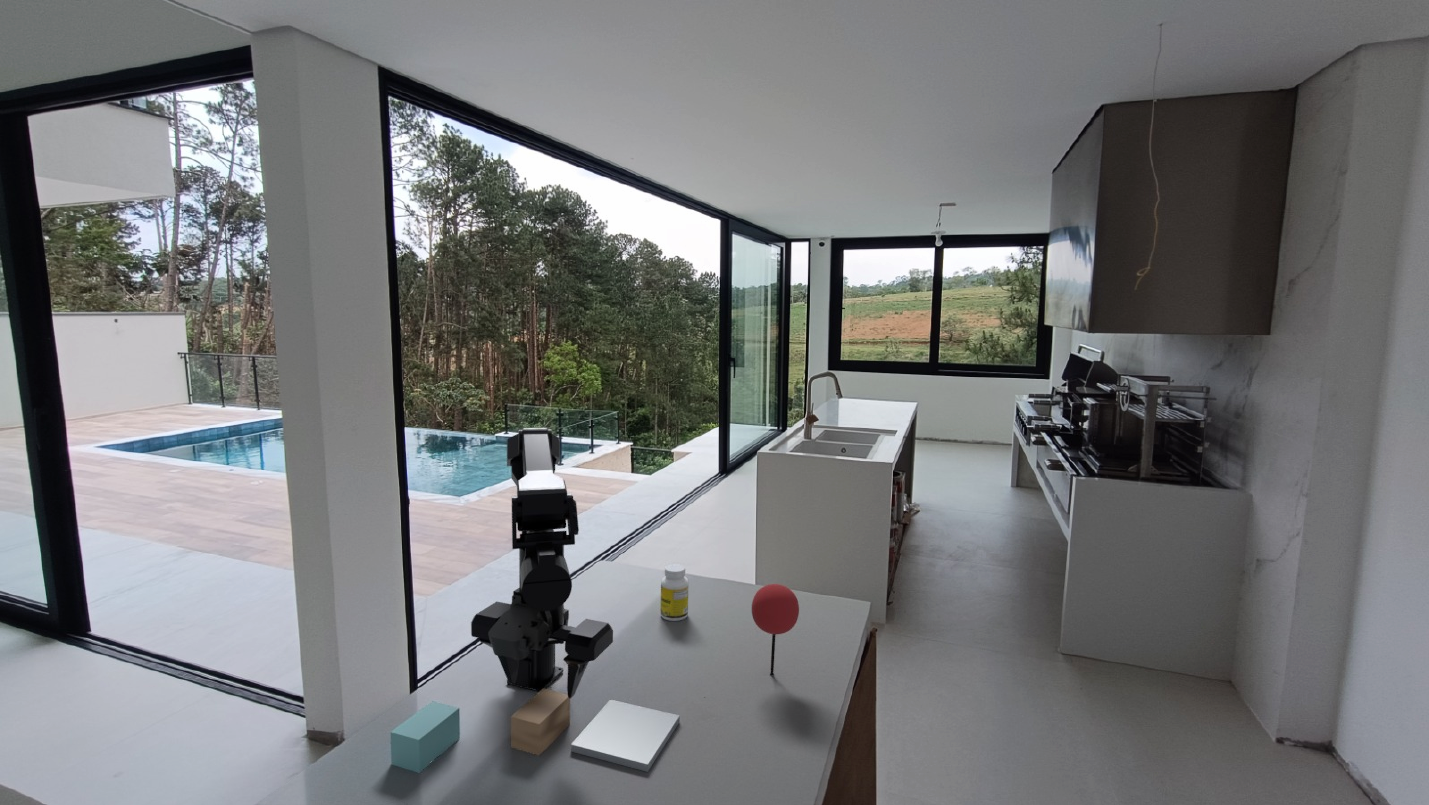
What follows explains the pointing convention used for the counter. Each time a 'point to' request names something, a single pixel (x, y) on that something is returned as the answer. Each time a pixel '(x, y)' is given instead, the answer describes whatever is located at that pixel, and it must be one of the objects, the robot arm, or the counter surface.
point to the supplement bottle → (674, 593)
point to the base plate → (626, 735)
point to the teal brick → (425, 736)
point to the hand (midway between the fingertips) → (541, 689)
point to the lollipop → (775, 611)
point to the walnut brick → (540, 721)
